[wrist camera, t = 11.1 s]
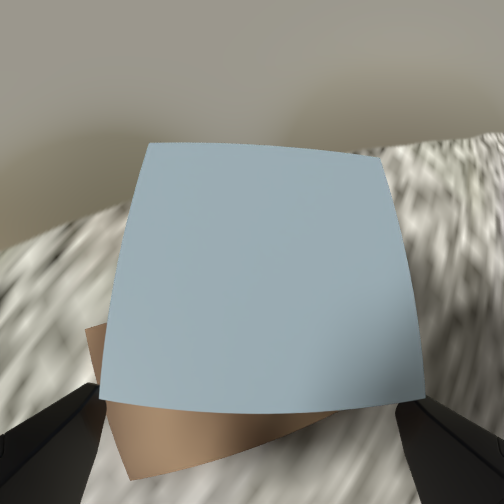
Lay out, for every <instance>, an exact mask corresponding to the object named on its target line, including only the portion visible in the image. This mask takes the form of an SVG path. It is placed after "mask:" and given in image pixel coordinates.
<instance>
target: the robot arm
mask: <svg viewBox="0 0 504 504" xmlns="http://www.w3.org/2000/svg"><path fill="white" fill-rule="evenodd" d="M99 392H100V385H99V384H95V383H86V384H84V385H82V386H81V387H79V388H78V389H76V390H74V391H73V392H71V393H70V394H68V395H66V396H65V397H63V398H62V399H60V400H58V401H57V402H55V403H53V404H52V405H50V406H49V407H47V408H45V409H44V410H42V411H40V412H39V413H37V414H35V415H34V416H32V417H30V418H29V419H27V420H26V421H24V422H22V423H21V424H19V425H17V426H16V427H14V428H12V429H11V430H9V431H7V432H6V433H5V435H4V434H2V435H0V504H80V503H81V499H82V496H83V493H84V490H85V487H86V484H87V481H88V478H89V475H90V472H91V469H92V466H93V463H94V460H95V457H96V454H97V451H98V447H99V442H100V438H101V433H102V429H103V424H104V420H105V416H106V412H107V404H106V400H102V399H99ZM395 416H396V420H397V424H398V428H399V432H400V437H401V441H402V445H403V449H404V453H405V456H406V460H407V462H408V465H409V468H410V471H411V474H412V477H413V480H414V483H415V486H416V489H417V492H418V495H419V498H420V501H421V504H504V440H503V439H501V438H499V437H497V436H496V435H494V434H492V433H490V432H489V431H487V430H485V429H483V428H481V427H480V426H478V425H476V424H475V423H473V422H471V421H469V420H468V419H466V418H464V417H462V416H461V415H459V414H457V413H456V412H454V411H452V410H450V409H449V408H447V407H445V406H444V405H442V404H440V403H439V402H437V401H435V400H434V399H432V398H430V397H429V396H427V395H426V398H423V399H418V400H413V401H407V402H401V403H398V406H397V408H396V412H395Z"/></svg>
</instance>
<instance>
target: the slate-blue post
mask: <svg viewBox="0 0 504 504" xmlns="http://www.w3.org/2000/svg"><path fill="white" fill-rule="evenodd" d="M423 398H426V395H425V380H424V368H423V358H422V348H421V340H420V332H419V324H418V318H417V311H416V305H415V299H414V293H413V287H412V282H411V276H410V271H409V266H408V261H407V257H406V252H405V248H404V243H403V239H402V235H401V231H400V227H399V223H398V219H397V215H396V211H395V207H394V204H393V200H392V196H391V193H390V189H389V186H388V183H387V179H386V176H385V173H384V170H383V166H382V163H381V160H380V158H377V157H371V156H364V155H356V154H349V153H341V152H332V151H323V150H314V149H303V148H293V147H280V146H265V145H249V144H226V143H225V144H224V143H149V145H148V148H147V151H146V155H145V158H144V161H143V165H142V168H141V171H140V175H139V178H138V182H137V185H136V189H135V193H134V196H133V200H132V204H131V207H130V211H129V215H128V219H127V223H126V228H125V232H124V236H123V241H122V245H121V250H120V254H119V259H118V264H117V269H116V274H115V279H114V285H113V290H112V296H111V302H110V308H109V314H108V321H107V328H106V335H105V343H104V351H103V360H102V369H101V380H100V392H99V399H102V400H108V401H113V402H120V403H126V404H132V405H140V406H147V407H155V408H164V409H174V410H185V411H197V412H214V413H241V414H280V413H307V412H324V411H336V410H347V409H357V408H366V407H374V406H381V405H388V404H395V403H401V402H407V401H413V400H418V399H423Z"/></svg>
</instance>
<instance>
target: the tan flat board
mask: <svg viewBox="0 0 504 504" xmlns="http://www.w3.org/2000/svg"><path fill="white" fill-rule="evenodd" d="M106 328H107V323H104V324H101V325H98V326H94V327H91V328H87V329H85V332H86V337H87V342H88V346H89V351H90V355H91V360H92V364H93V368H94V372H95V376H96V380H97V384H99V385H100V380H101V369H102V360H103V351H104V343H105V335H106ZM106 404H107V412H106V415H107V418H108V421H109V425H110V428H111V431H112V434H113V436H114V439H115V442H116V445H117V448H118V451H119V453H120V456H121V459H122V461H123V464H124V466H125V469H126V471H127V474H128V476H129V479H130V481H132V480H137V479H143V478H148V477H152V476H157V475H162V474H166V473H170V472H175V471H179V470H183V469H186V468H190V467H194V466H198V465H201V464H205V463H208V462H212V461H215V460H218V459H221V458H225V457H228V456H231V455H234V454H237V453H240V452H243V451H246V450H248V449H251V448H254V447H257V446H260V445H262V444H265V443H267V442H270V441H273V440H275V439H278V438H280V437H283V436H285V435H288V434H290V433H292V432H295V431H297V430H299V429H302V428H304V427H306V426H309V425H311V424H313V423H315V422H317V421H320V420H322V419H324V418H326V417H328V416H330V415H332V414H334V413H336V412H338V411H340V410H336V411H324V412H307V413H280V414H241V413H214V412H197V411H185V410H174V409H164V408H155V407H147V406H140V405H132V404H126V403H120V402H113V401H108V400H106Z"/></svg>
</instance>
